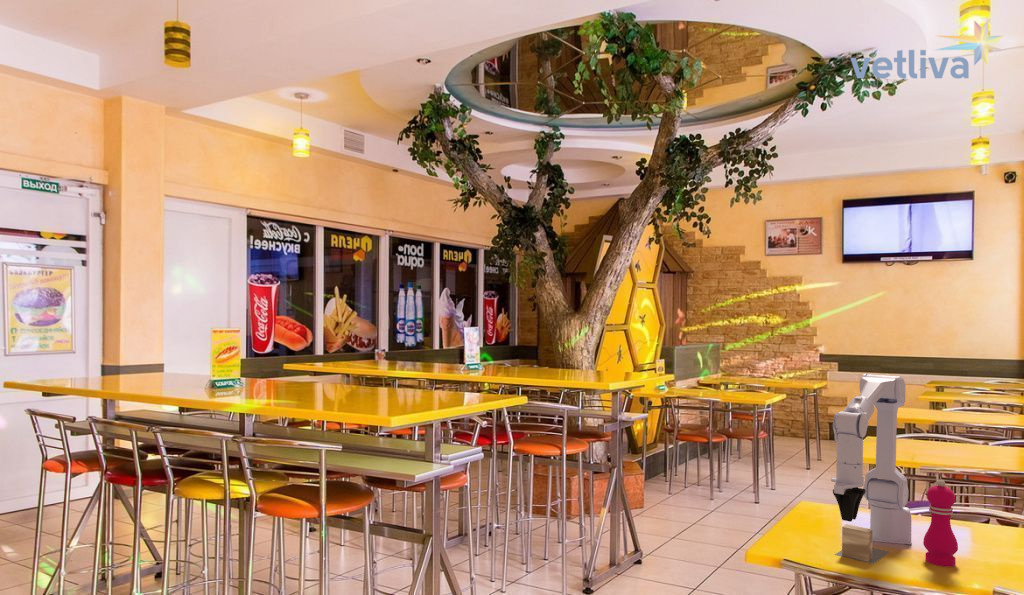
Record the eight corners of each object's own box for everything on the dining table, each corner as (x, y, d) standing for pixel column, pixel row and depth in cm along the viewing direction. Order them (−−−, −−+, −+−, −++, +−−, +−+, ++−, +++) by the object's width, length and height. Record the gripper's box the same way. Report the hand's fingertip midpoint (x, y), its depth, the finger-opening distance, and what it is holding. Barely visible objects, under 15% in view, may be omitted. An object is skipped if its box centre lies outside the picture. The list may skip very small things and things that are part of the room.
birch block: (867, 561, 175) (868, 532, 175) (841, 555, 179) (842, 526, 179) (872, 558, 177) (872, 529, 178) (846, 552, 182) (846, 524, 182)
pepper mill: (957, 570, 171) (958, 484, 171) (922, 564, 175) (923, 480, 175) (958, 561, 177) (958, 478, 177) (923, 555, 181) (924, 474, 181)
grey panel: (852, 544, 189) (852, 543, 189) (890, 552, 183) (890, 551, 183) (834, 555, 180) (834, 554, 180) (873, 564, 173) (873, 563, 173)
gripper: (842, 456, 183) (842, 510, 182) (821, 463, 172) (820, 521, 172) (873, 460, 178) (872, 516, 177) (852, 468, 167) (851, 528, 167)
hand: (848, 519), depth 174 cm, fingers closed
